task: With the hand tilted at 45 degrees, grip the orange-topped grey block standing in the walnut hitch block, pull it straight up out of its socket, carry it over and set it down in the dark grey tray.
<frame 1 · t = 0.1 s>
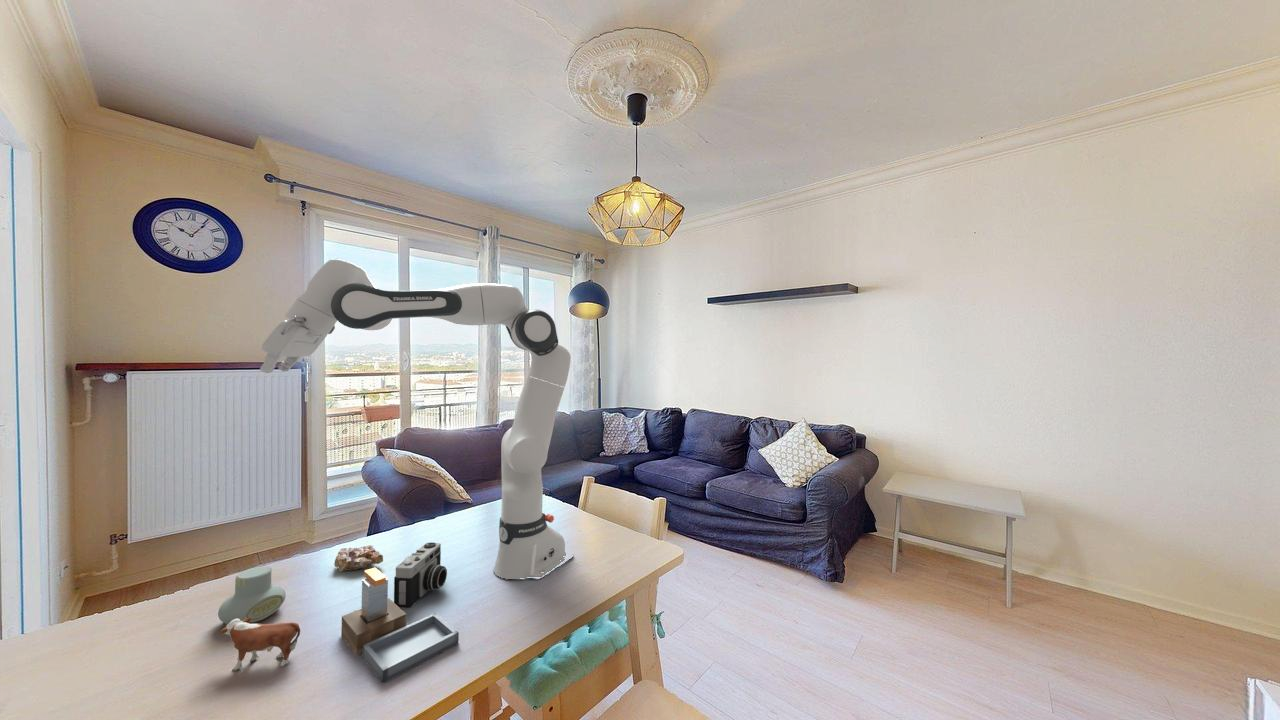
hand: (274, 371, 96), 54 cm above the table, tool tilted 30°, fingers open, 8 cm apart
tray: (411, 650, 84), on the table
bull figurine: (258, 664, 79), on the table
orange-topped grey block: (374, 604, 88), in the hitch block
air freshener: (252, 618, 93), on the table
camera: (424, 593, 104), on the table
hitch block: (373, 634, 88), on the table
mineral specimen: (359, 567, 116), on the table
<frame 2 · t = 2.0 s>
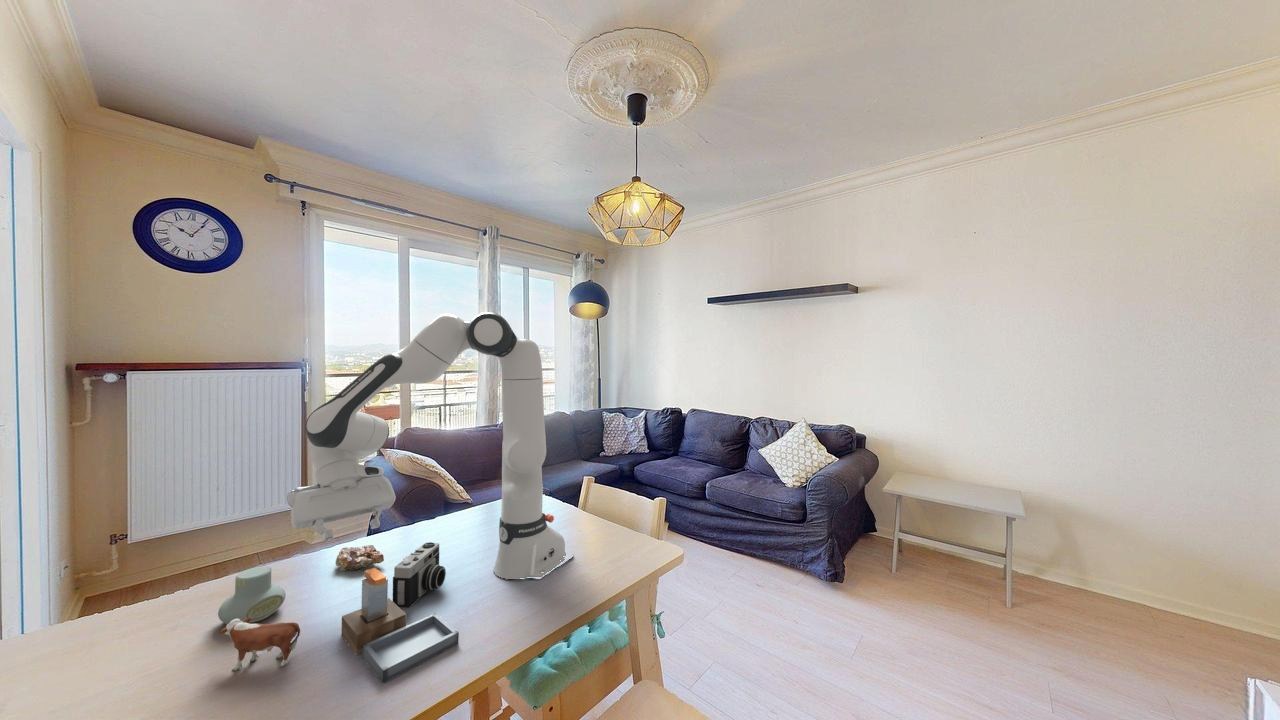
hand: (353, 533, 96), 18 cm above the table, tool tilted 45°, fingers open, 8 cm apart
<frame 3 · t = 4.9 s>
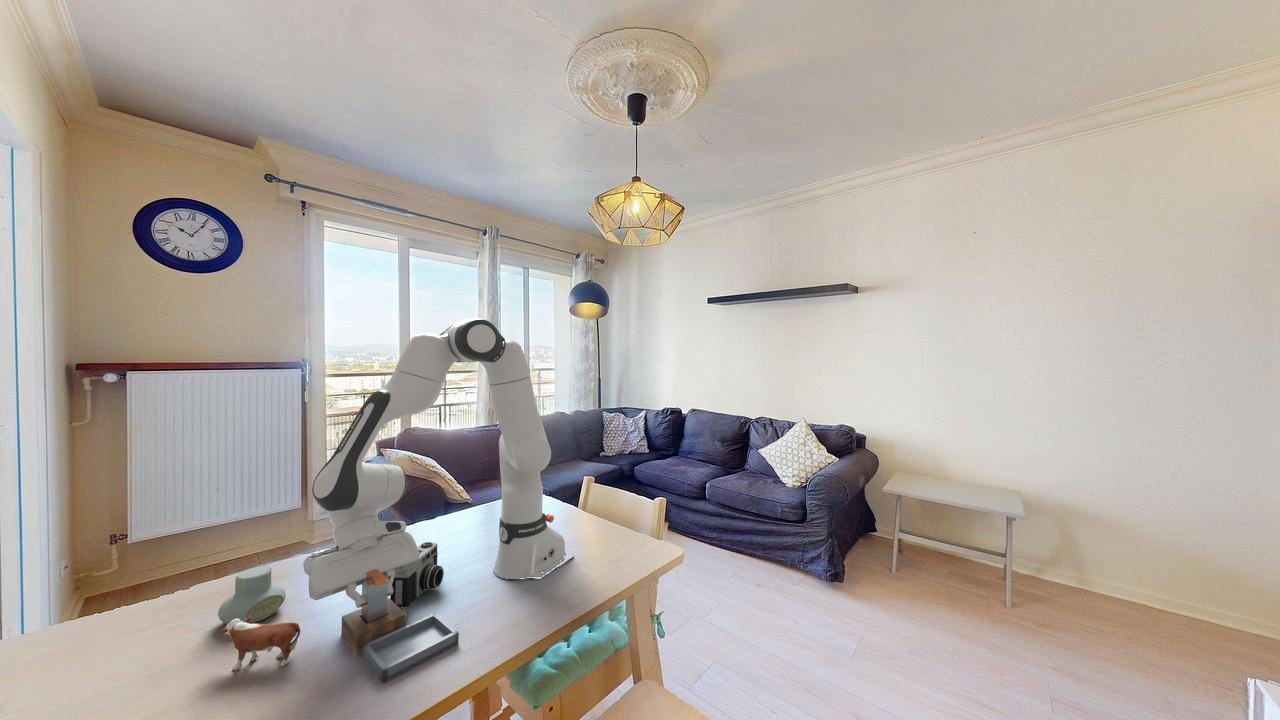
hand: (375, 600, 88), 7 cm above the table, tool tilted 45°, fingers closed on orange-topped grey block, 4 cm apart
orange-topped grey block: (374, 604, 88), in the hitch block, touching gripper
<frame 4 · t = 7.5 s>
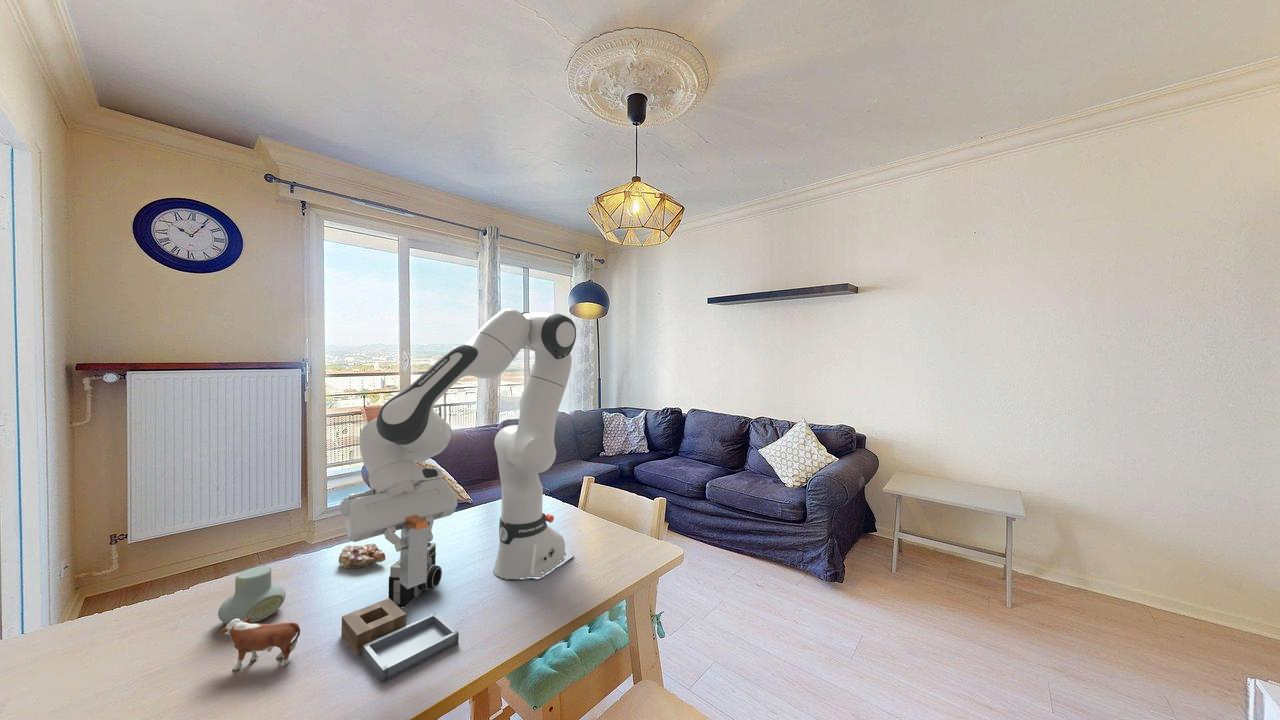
hand: (415, 545, 83), 21 cm above the table, tool tilted 45°, fingers closed on orange-topped grey block, 4 cm apart
orange-topped grey block: (414, 550, 84), point 20 cm above the table, touching gripper
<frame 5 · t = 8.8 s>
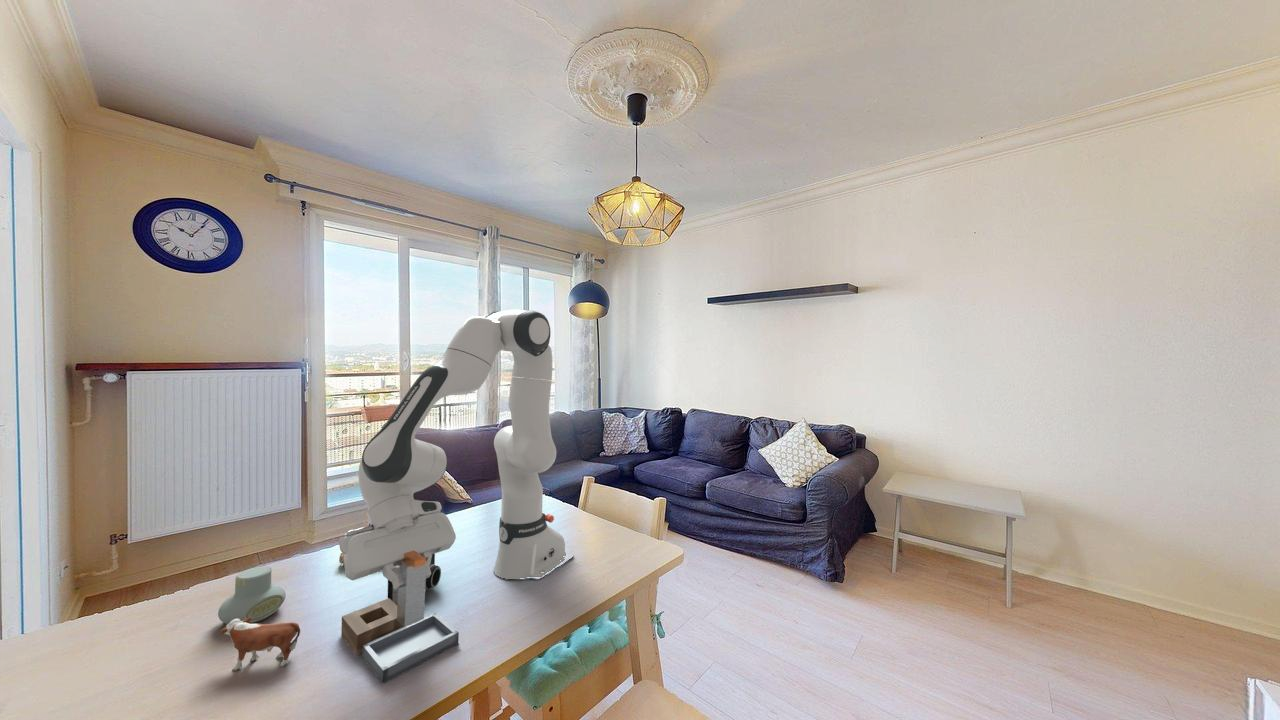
hand: (413, 582, 83), 14 cm above the table, tool tilted 45°, fingers closed on orange-topped grey block, 4 cm apart
orange-topped grey block: (411, 587, 83), point 13 cm above the table, touching gripper
when the fingers open (9 cm above the table, at t = 10.0 s): orange-topped grey block moves 1 cm, resting on tray.
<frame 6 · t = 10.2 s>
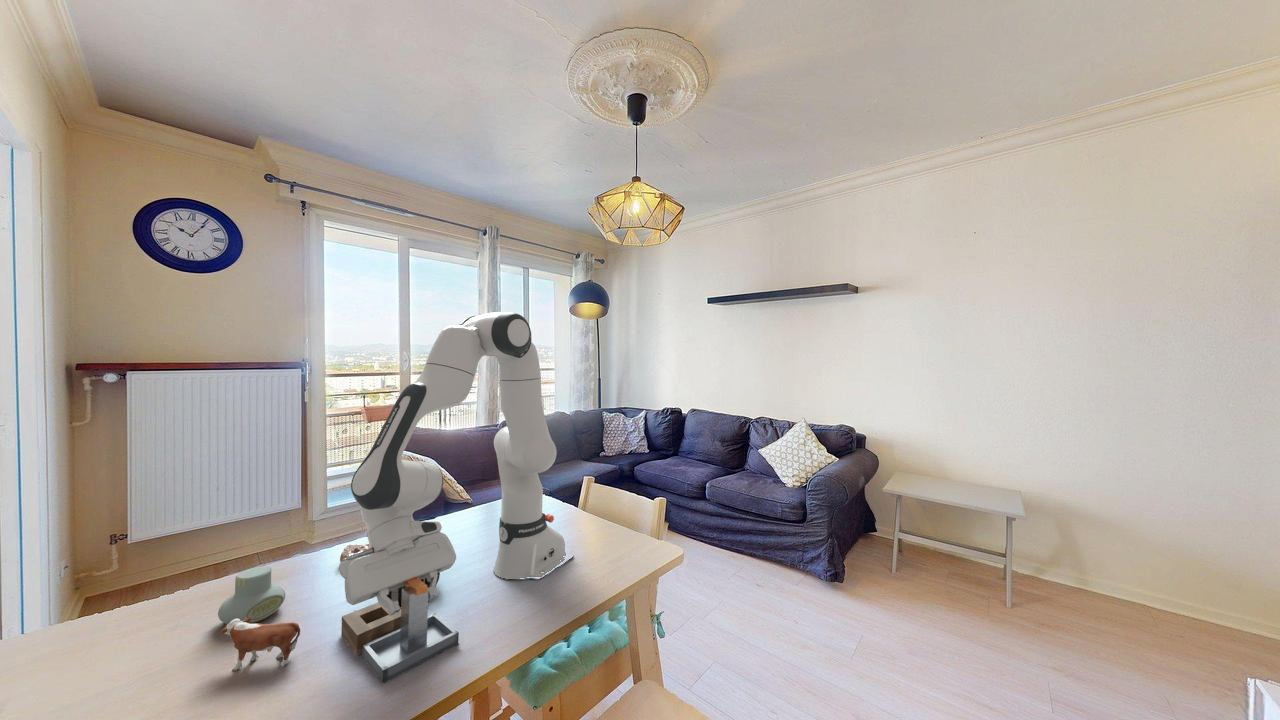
hand: (414, 604, 83), 9 cm above the table, tool tilted 45°, fingers open, 6 cm apart
orange-topped grey block: (414, 614, 84), in the tray, point 7 cm above the table
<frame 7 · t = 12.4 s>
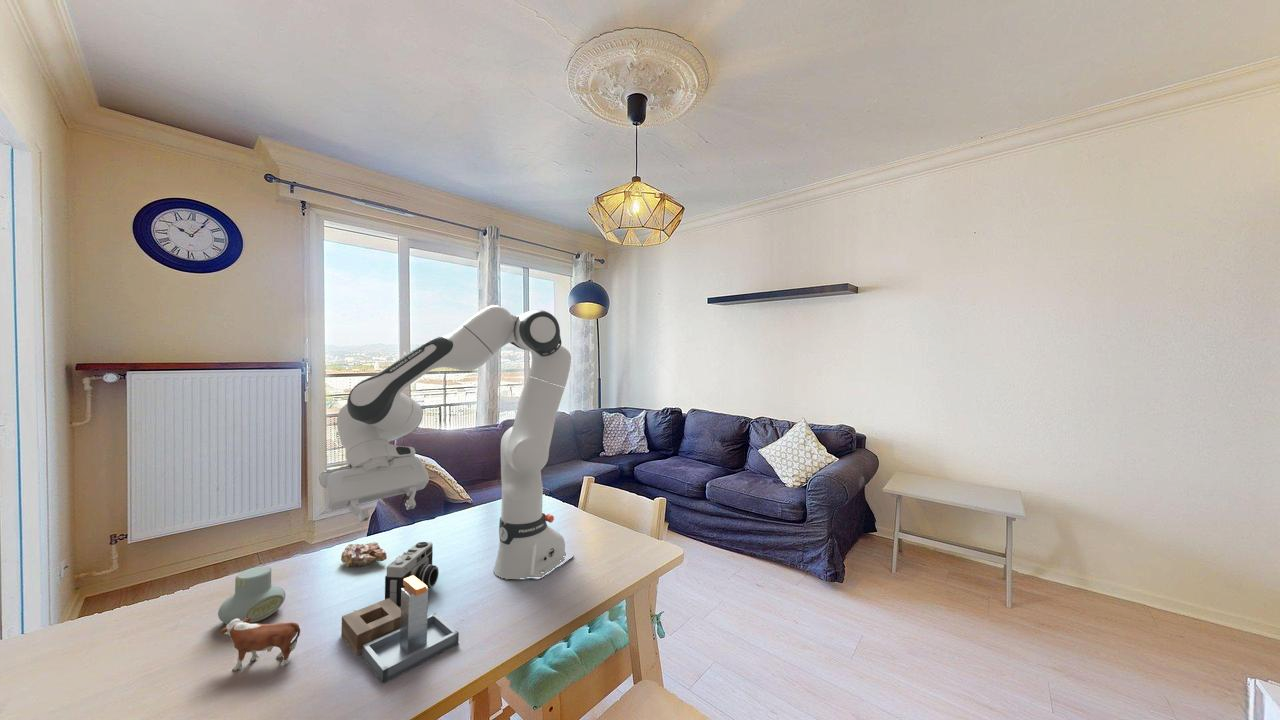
hand: (389, 513, 92), 24 cm above the table, tool tilted 45°, fingers open, 8 cm apart
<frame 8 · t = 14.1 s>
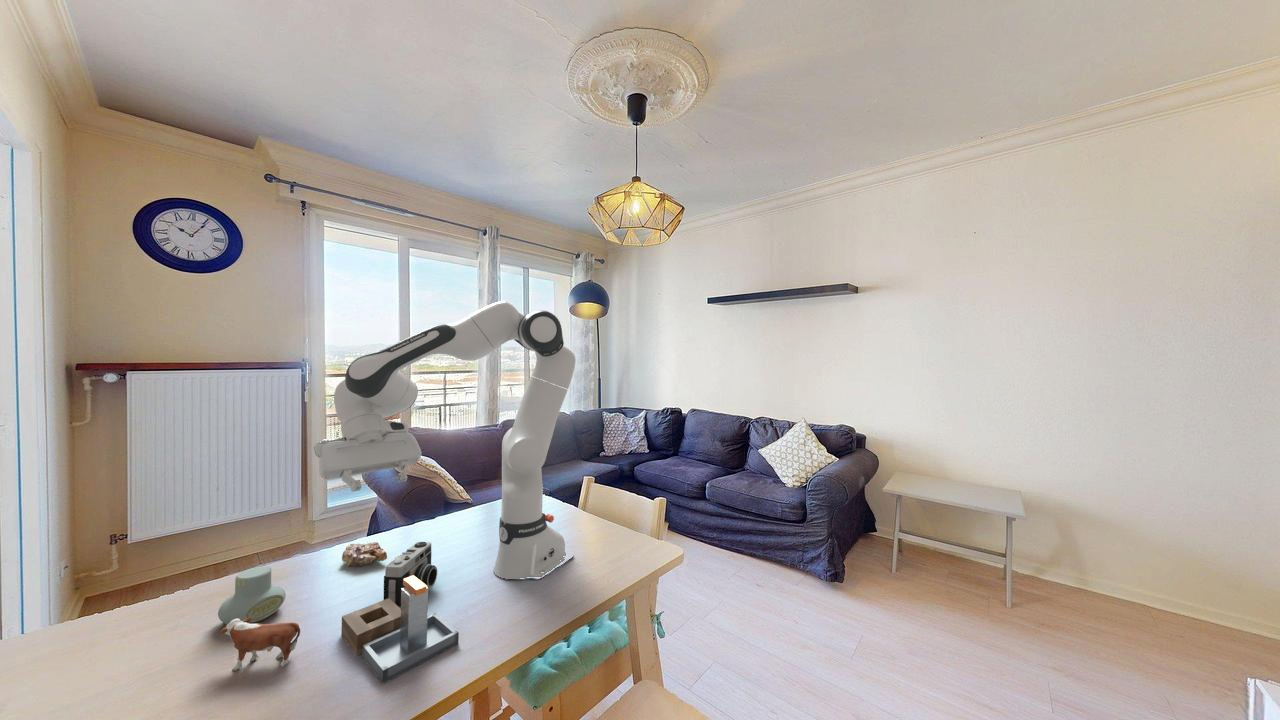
hand: (381, 485, 94), 29 cm above the table, tool tilted 45°, fingers open, 8 cm apart
at the end: orange-topped grey block inside the target area on the tray (0.3 cm from its centre), point 7.1 cm above the tray's base; orange-topped grey block touching tray; the gripper is holding nothing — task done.
